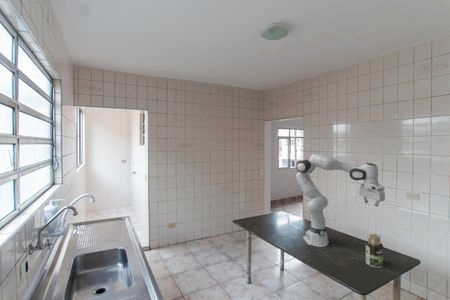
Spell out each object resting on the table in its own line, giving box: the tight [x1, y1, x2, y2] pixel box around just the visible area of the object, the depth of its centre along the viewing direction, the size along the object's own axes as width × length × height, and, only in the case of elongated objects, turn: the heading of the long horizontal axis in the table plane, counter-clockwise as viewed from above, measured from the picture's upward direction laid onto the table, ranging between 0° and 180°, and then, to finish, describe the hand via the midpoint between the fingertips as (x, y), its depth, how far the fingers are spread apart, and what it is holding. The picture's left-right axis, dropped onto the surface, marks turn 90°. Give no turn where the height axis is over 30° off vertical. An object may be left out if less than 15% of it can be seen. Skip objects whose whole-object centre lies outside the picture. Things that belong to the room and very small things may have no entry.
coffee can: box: [365, 240, 384, 268], centre depth 164 cm, size 10×10×14 cm
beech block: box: [367, 233, 381, 246], centre depth 164 cm, size 5×5×6 cm
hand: (371, 204), depth 172 cm, fingers open, 8 cm apart
